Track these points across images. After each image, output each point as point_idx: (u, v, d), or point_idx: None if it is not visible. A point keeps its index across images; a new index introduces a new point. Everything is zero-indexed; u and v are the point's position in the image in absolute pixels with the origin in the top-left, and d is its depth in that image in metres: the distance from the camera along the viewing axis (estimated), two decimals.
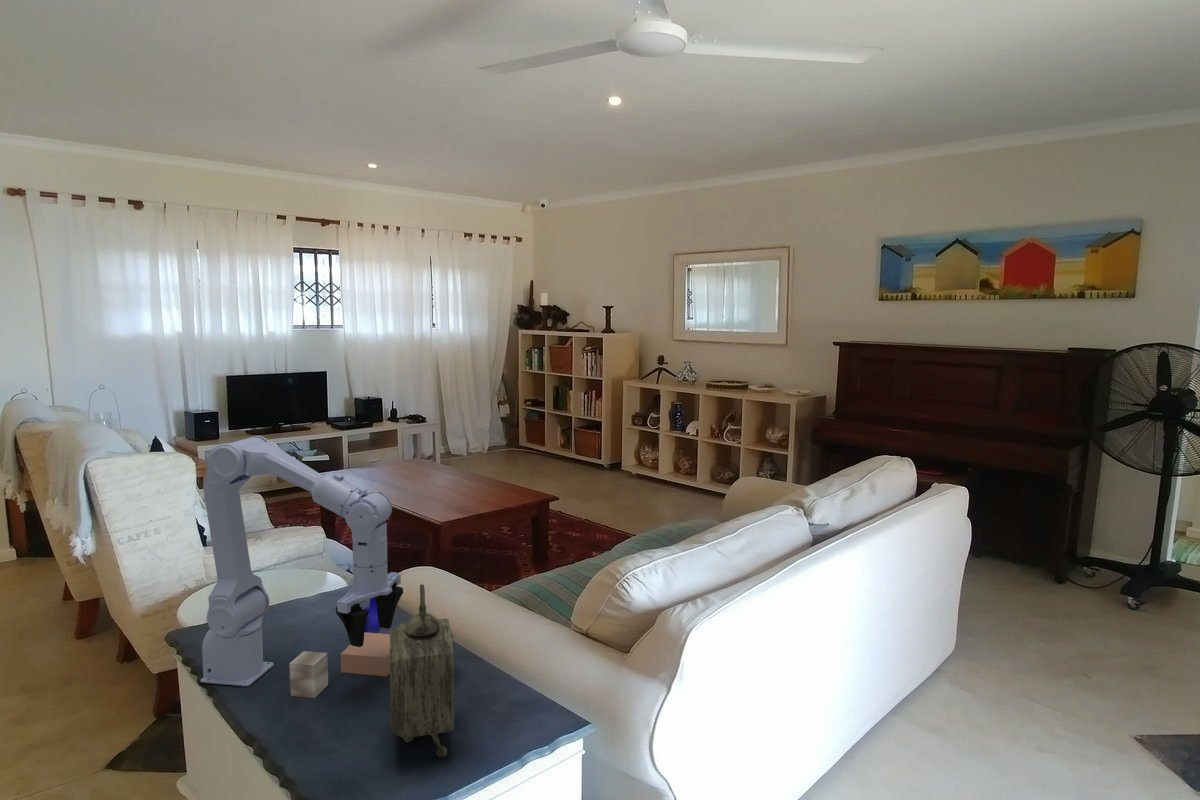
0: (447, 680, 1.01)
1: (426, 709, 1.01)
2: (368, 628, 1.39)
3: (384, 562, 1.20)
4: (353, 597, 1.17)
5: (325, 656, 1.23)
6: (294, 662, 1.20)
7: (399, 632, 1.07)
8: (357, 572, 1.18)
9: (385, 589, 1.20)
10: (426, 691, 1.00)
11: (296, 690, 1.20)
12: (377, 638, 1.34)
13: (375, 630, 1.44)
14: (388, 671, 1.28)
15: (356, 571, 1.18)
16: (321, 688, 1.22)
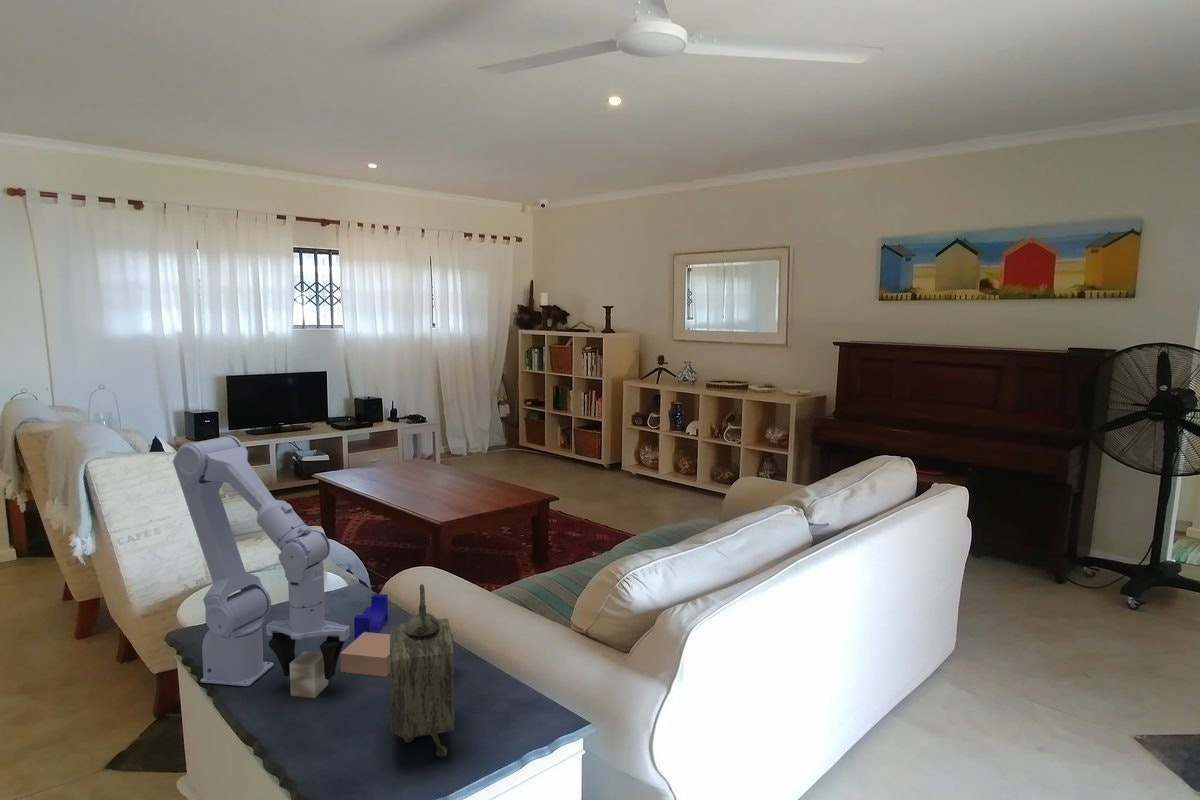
0: (447, 680, 1.01)
1: (426, 709, 1.01)
2: (370, 628, 1.39)
3: (318, 602, 1.19)
4: (281, 625, 1.21)
5: None
6: (294, 662, 1.20)
7: (398, 632, 1.07)
8: None
9: (297, 633, 1.18)
10: (426, 691, 1.00)
11: (296, 690, 1.20)
12: (378, 638, 1.34)
13: (377, 630, 1.44)
14: (387, 671, 1.28)
15: None
16: (321, 688, 1.22)
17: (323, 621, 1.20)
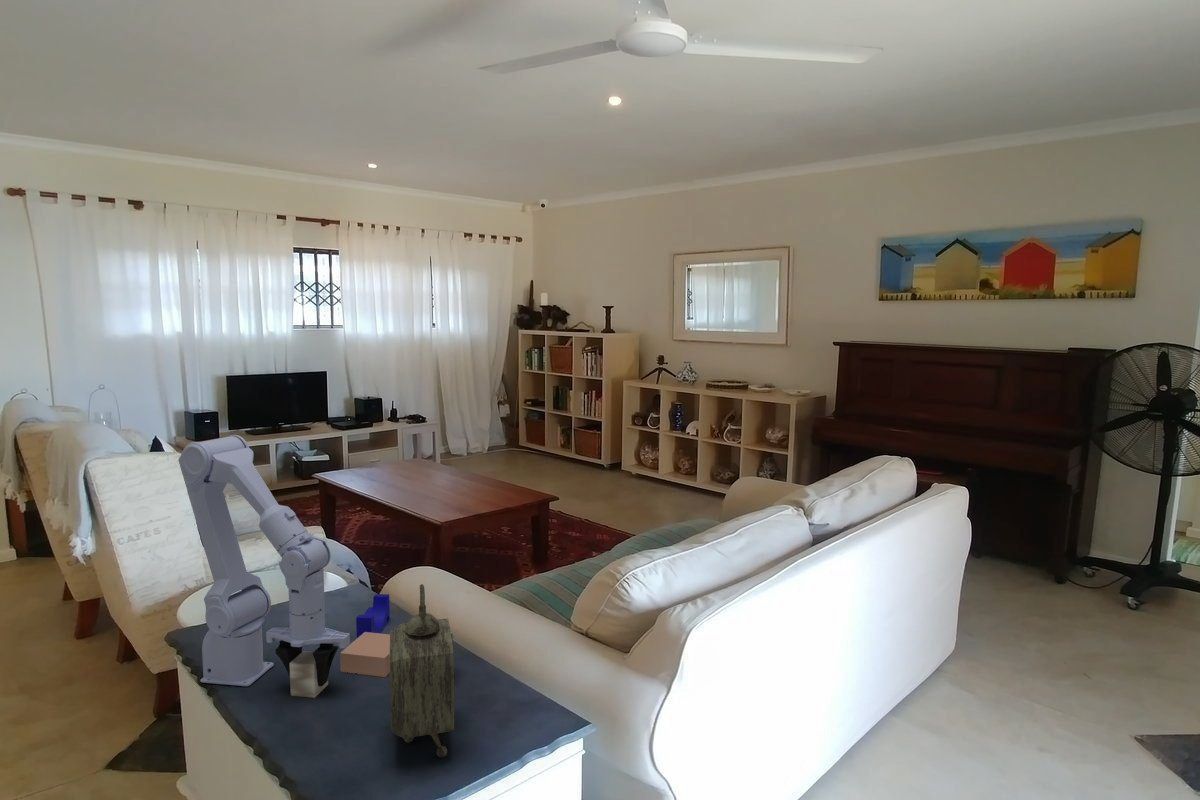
0: (447, 680, 1.01)
1: (426, 709, 1.01)
2: (372, 628, 1.39)
3: (318, 610, 1.19)
4: (281, 632, 1.21)
5: None
6: (294, 662, 1.20)
7: (398, 632, 1.07)
8: None
9: (297, 641, 1.18)
10: (426, 691, 1.00)
11: (296, 690, 1.20)
12: (378, 638, 1.34)
13: (379, 630, 1.44)
14: (386, 671, 1.28)
15: None
16: (321, 688, 1.22)
17: (323, 628, 1.21)
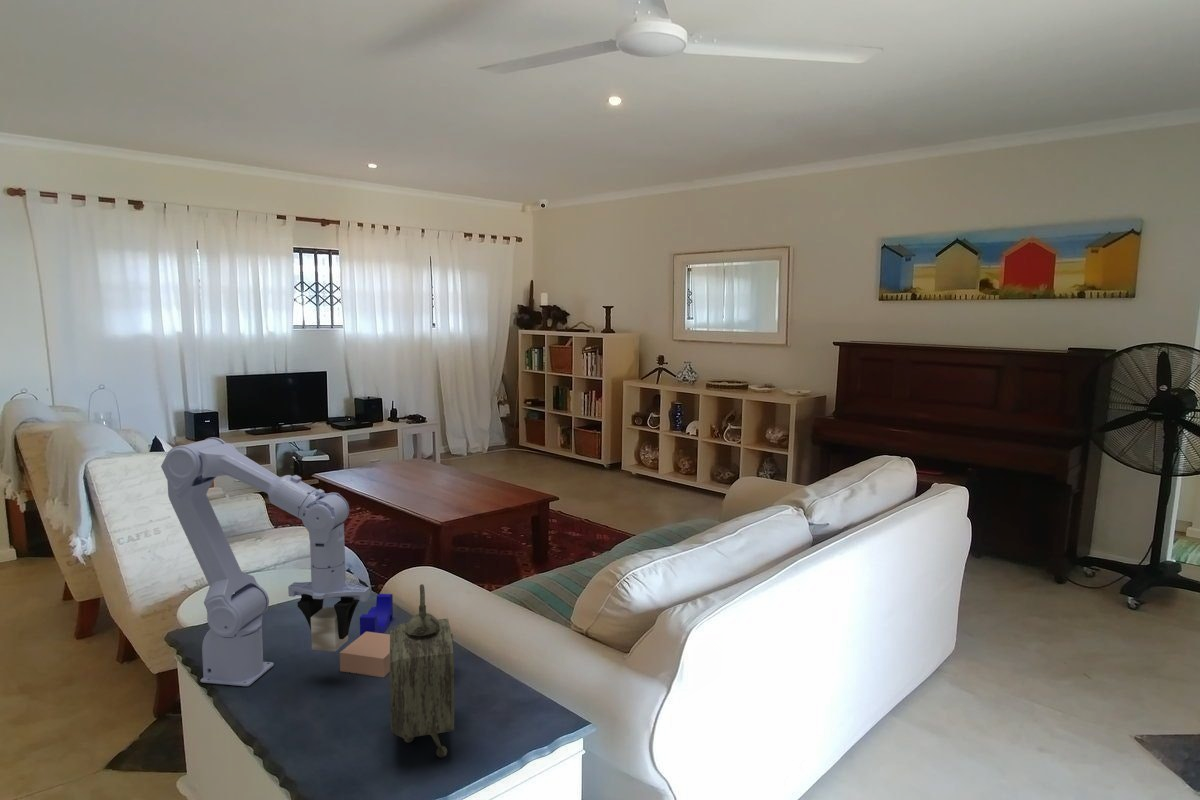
0: (447, 680, 1.01)
1: (426, 709, 1.01)
2: (375, 628, 1.39)
3: (342, 562, 1.22)
4: (303, 586, 1.23)
5: None
6: (315, 616, 1.22)
7: (398, 632, 1.07)
8: None
9: (318, 593, 1.20)
10: (426, 691, 1.00)
11: (317, 644, 1.22)
12: (379, 638, 1.34)
13: (382, 630, 1.44)
14: (385, 672, 1.27)
15: None
16: (341, 642, 1.24)
17: (344, 582, 1.23)
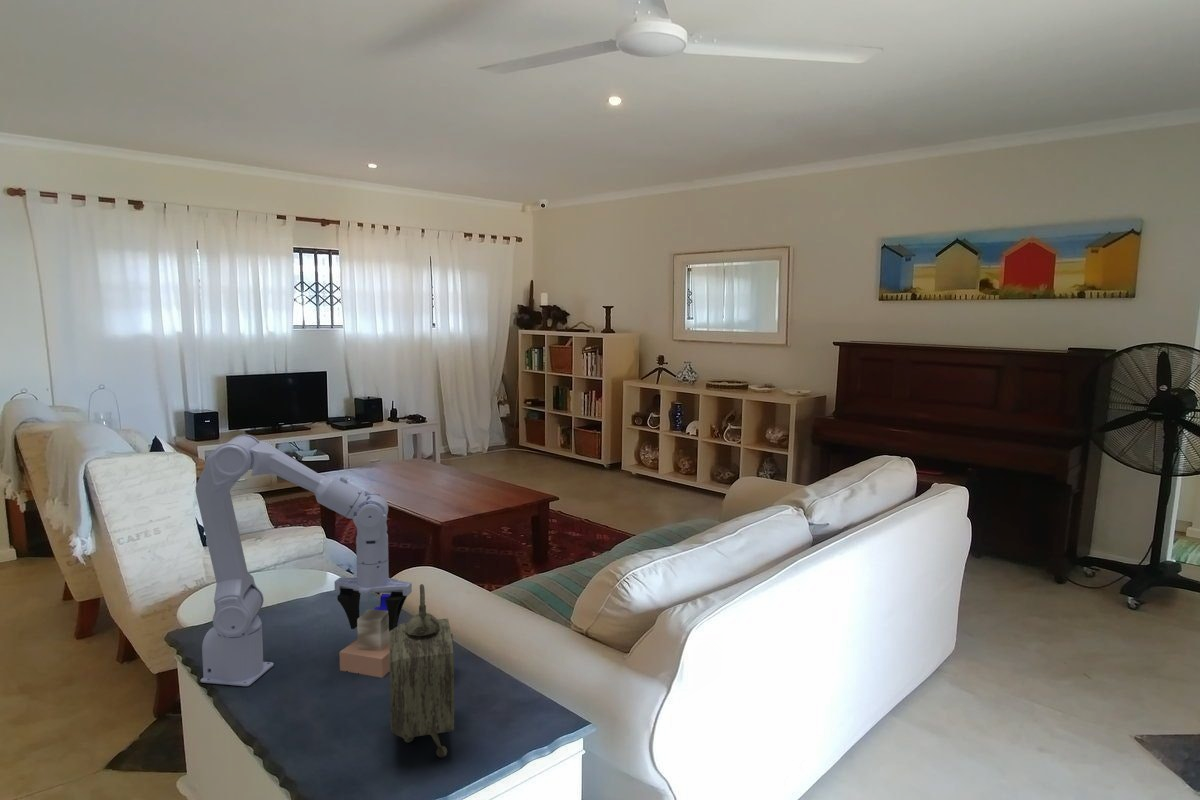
0: (447, 680, 1.01)
1: (426, 709, 1.01)
2: None
3: (387, 557, 1.30)
4: (348, 581, 1.31)
5: None
6: (361, 618, 1.29)
7: (398, 632, 1.07)
8: None
9: (364, 588, 1.27)
10: (426, 691, 1.00)
11: (363, 644, 1.29)
12: None
13: None
14: (384, 673, 1.27)
15: None
16: (385, 643, 1.31)
17: (387, 578, 1.30)
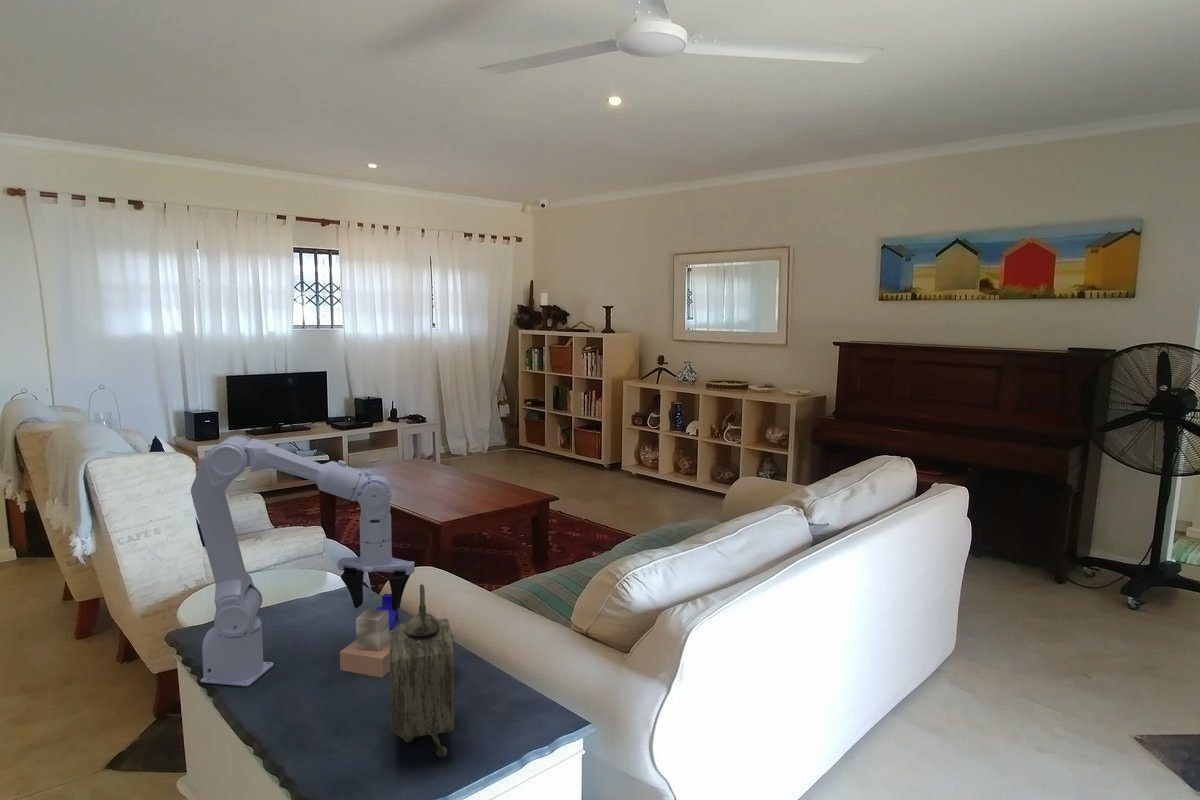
0: (447, 680, 1.01)
1: (426, 709, 1.01)
2: None
3: None
4: (351, 560, 1.32)
5: (387, 613, 1.32)
6: (360, 618, 1.29)
7: (398, 632, 1.07)
8: None
9: (368, 567, 1.28)
10: (426, 691, 1.00)
11: (362, 644, 1.29)
12: None
13: (389, 629, 1.44)
14: (384, 672, 1.27)
15: None
16: (384, 642, 1.31)
17: (390, 557, 1.31)
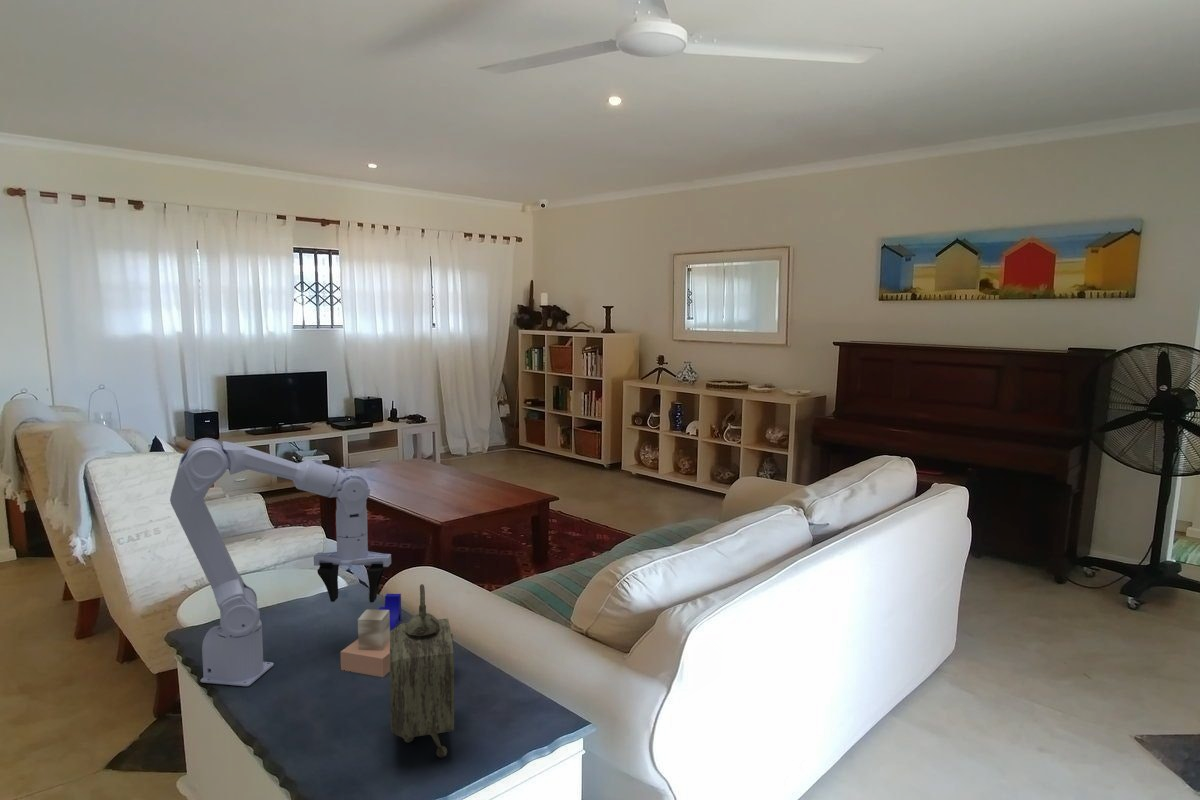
0: (447, 680, 1.01)
1: (426, 709, 1.01)
2: None
3: (367, 530, 1.35)
4: (327, 555, 1.34)
5: (388, 612, 1.33)
6: (362, 618, 1.29)
7: (399, 632, 1.07)
8: None
9: (346, 560, 1.31)
10: (426, 691, 1.00)
11: (364, 644, 1.29)
12: None
13: None
14: (385, 672, 1.27)
15: None
16: (386, 642, 1.32)
17: (367, 550, 1.35)
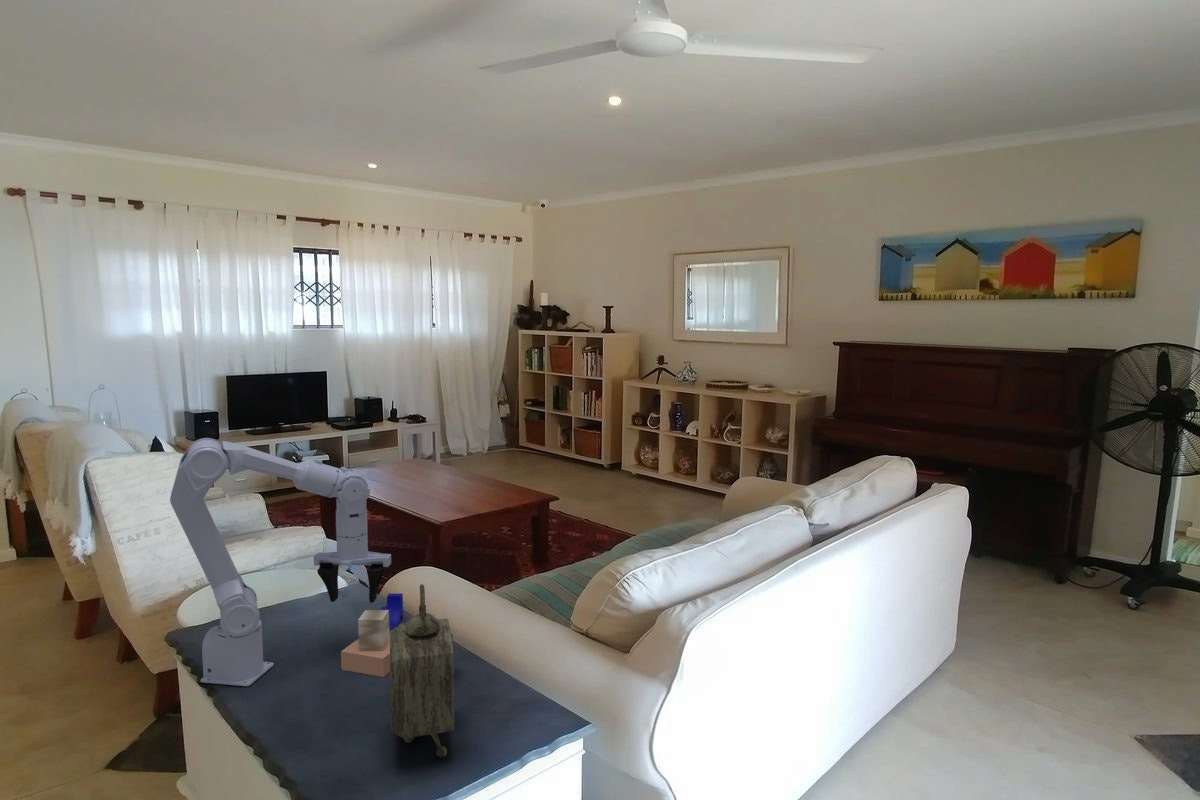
0: (447, 680, 1.01)
1: (426, 709, 1.01)
2: (389, 627, 1.40)
3: (367, 530, 1.35)
4: (327, 555, 1.34)
5: (388, 613, 1.33)
6: (362, 619, 1.29)
7: (399, 632, 1.07)
8: None
9: (346, 560, 1.31)
10: (426, 691, 1.00)
11: (364, 645, 1.29)
12: None
13: None
14: (385, 672, 1.28)
15: None
16: (386, 642, 1.32)
17: (367, 550, 1.35)
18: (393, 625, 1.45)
